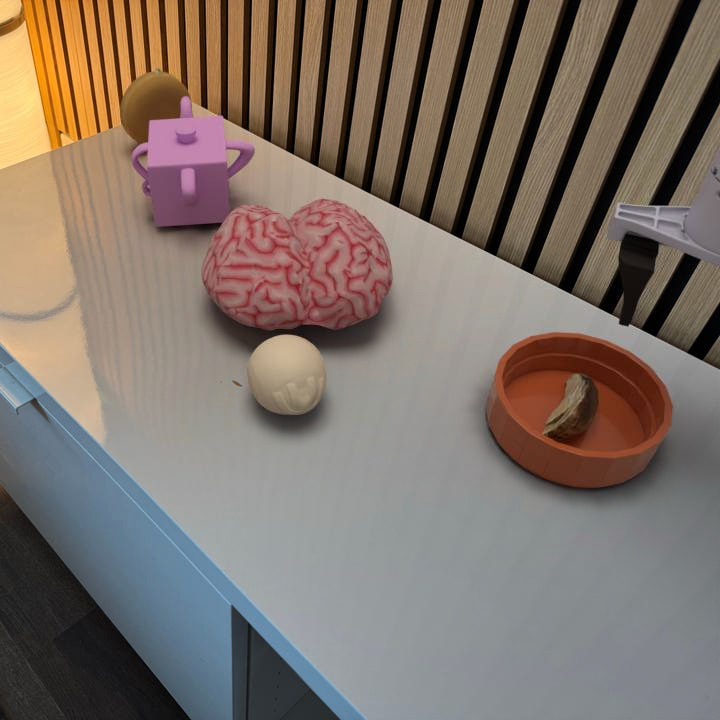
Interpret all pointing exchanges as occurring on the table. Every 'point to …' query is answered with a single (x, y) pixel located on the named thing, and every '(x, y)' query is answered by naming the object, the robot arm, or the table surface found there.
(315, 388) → the cream ball
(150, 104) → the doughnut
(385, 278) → the brain
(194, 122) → the teapot
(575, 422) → the oyster shell
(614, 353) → the bowl
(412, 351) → the table surface
